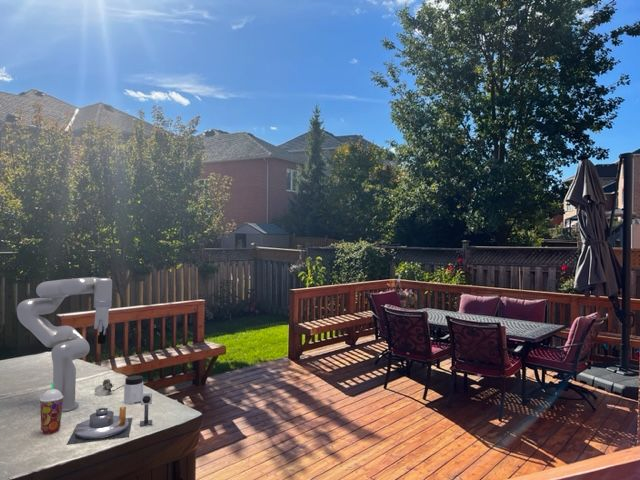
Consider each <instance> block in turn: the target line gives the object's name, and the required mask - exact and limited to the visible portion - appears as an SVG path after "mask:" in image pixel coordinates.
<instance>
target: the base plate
mask: <svg viewBox="0 0 640 480" xmlns="http://www.w3.org/2000/svg"><path fill="white" fill-rule="evenodd" d="M126 418H127V419H128V428H127V429H126V430H124V431H123V432H121V433H118V434H116V435H113V436H109V437H104V438H97V439H84V438H79V437H77V436H76V435H75V428H74V430H73V431H72V433H71V435H70V437H69V439H68V441H67V443H66V445H75V444H83V443H84V444H85V443H91V442H99V441H108V440H107V439H109V440H115V439H116V438H117V439H124V438H130V433H131V428H132V424H133V423H132V422H133V417H126ZM78 424H79V423H77V424H76V426H77V425H78ZM76 426H75V427H76Z"/></svg>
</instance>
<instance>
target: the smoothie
mask: <svg viewBox="0 0 640 480" xmlns="http://www.w3.org/2000/svg"><path fill="white" fill-rule="evenodd" d="M63 397H64V396H63V395H62V393H61V392H60V391H59V390H57V389H53V381H52V382H51V388H50V389H48V390H46V391H45V392H44V393H43V394H42V396H41V397H40V398H39V404H40V405H39V406H40V407H39V408H40V430H41V431H42V434H44V435H49V434H50V435H51V434H54V433H56V432H58V431H59V430H60V428H61V424H62V423H61V422H62V414H63V412H62V405H63Z"/></svg>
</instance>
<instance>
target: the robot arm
mask: <svg viewBox="0 0 640 480" xmlns="http://www.w3.org/2000/svg"><path fill="white" fill-rule="evenodd" d="M35 291H36V295H37V296H39V297H36V298H35V297H34V298H28V299H24V300H23V301H21V302H19V304H18V305H17V307H16V315H17V319H18V320H19V321H18V322H20V324H22V326H24V327H25V328H26V329H27V330H28V331H30V332H31V333H32V334H33V335H34V336H35V337H36V338H37V340H39V341H40V342H41V343H42V344H43V345H44V346H45V347H46V348H51V353H50V354H51V355H50V356H51V361H52V382H53V389H57V390H59V391H60V392H61V393H62V395H63V396H64V397H63V405H62V413H66V412H70V411H73V410H76V409H77V408H79V403H78V402H77V401H76V382H77V380H76V379H77V368H76V366H75V364H74V361H75V360H78V359H81V358H85V357H86V356H87V355H88V354H89V352H90V349H91V348H90V343H89V342H88V341H87V339H86V338H85V337H83V335H81V334H80V332H78V331H77V330H76V328H74V327H73V326H70V325H59V326H55V325H53V324H52V323H51V322H50V321H49V319H47V318H46V317H43V316H40V315H47V314H48V315H49V314H52V313H54V312H55V311H56V310H57V309H58V308H59V306H60V305H61V304H62V302H63V301H64V299H66V297H70V296H74V295H75V296H76V295H83V294H93V309H95V313H94V314H95V315H94V326H93V329H94V330H97V344H98V345H102V344H103V345H104V344H106V341H107V339H106V338H107V337H106V336H107V335H106V331H107V328H108V325H109V315H110V314H109V313H110V311H109V310H110V308H112V302H113V299H112V297H113V296H112V295H113V279H111V278H109V277H108V278H107V277H94V276H93V277H79V278H77V277H76V278H68V279H67V278H64V279H56V280H55V279H54V280H48V281H43V282H40V284H37V287H36V289H35Z"/></svg>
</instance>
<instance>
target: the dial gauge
mask: <svg viewBox="0 0 640 480" xmlns="http://www.w3.org/2000/svg"><path fill="white" fill-rule="evenodd" d="M136 404H140V405H141V406H144V409H143V411H144V413H143V414H144V416H143V420H140V422H139V427H148V426H147V425H149V426H153V419H149V405H153V393H152V392H149V393H143V394H141V401H139V402H134V404H133V405H136Z"/></svg>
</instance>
